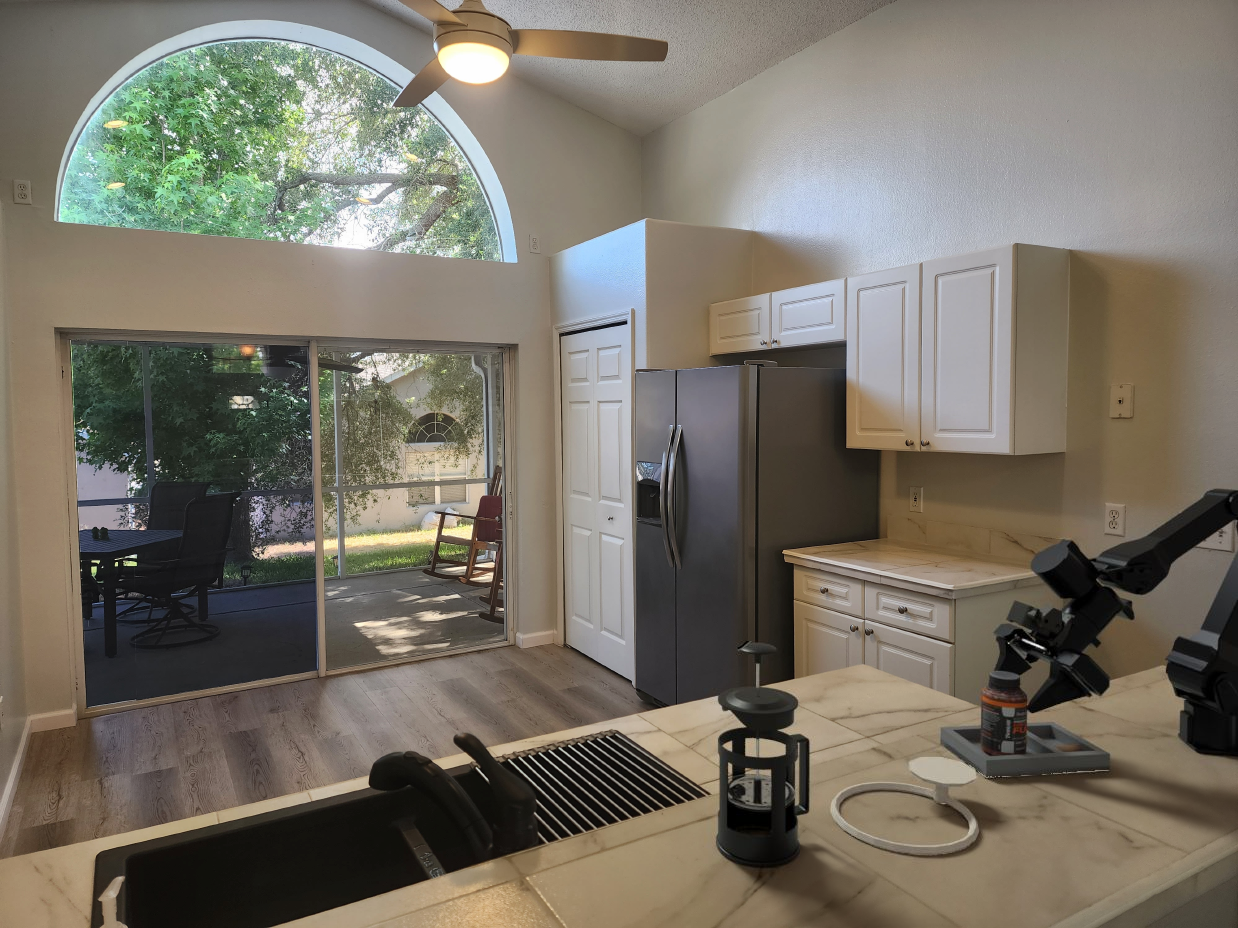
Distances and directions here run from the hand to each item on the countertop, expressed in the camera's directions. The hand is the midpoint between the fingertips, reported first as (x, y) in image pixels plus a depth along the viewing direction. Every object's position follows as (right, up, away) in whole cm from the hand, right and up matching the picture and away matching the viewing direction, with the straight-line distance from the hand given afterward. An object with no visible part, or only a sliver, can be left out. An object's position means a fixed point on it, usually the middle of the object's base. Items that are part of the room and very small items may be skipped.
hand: (1008, 699), depth 112 cm
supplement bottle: (-1, -8, 0) cm, 8 cm away
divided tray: (+2, -8, +1) cm, 9 cm away
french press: (-40, -10, -23) cm, 47 cm away
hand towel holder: (-20, -10, -16) cm, 27 cm away
